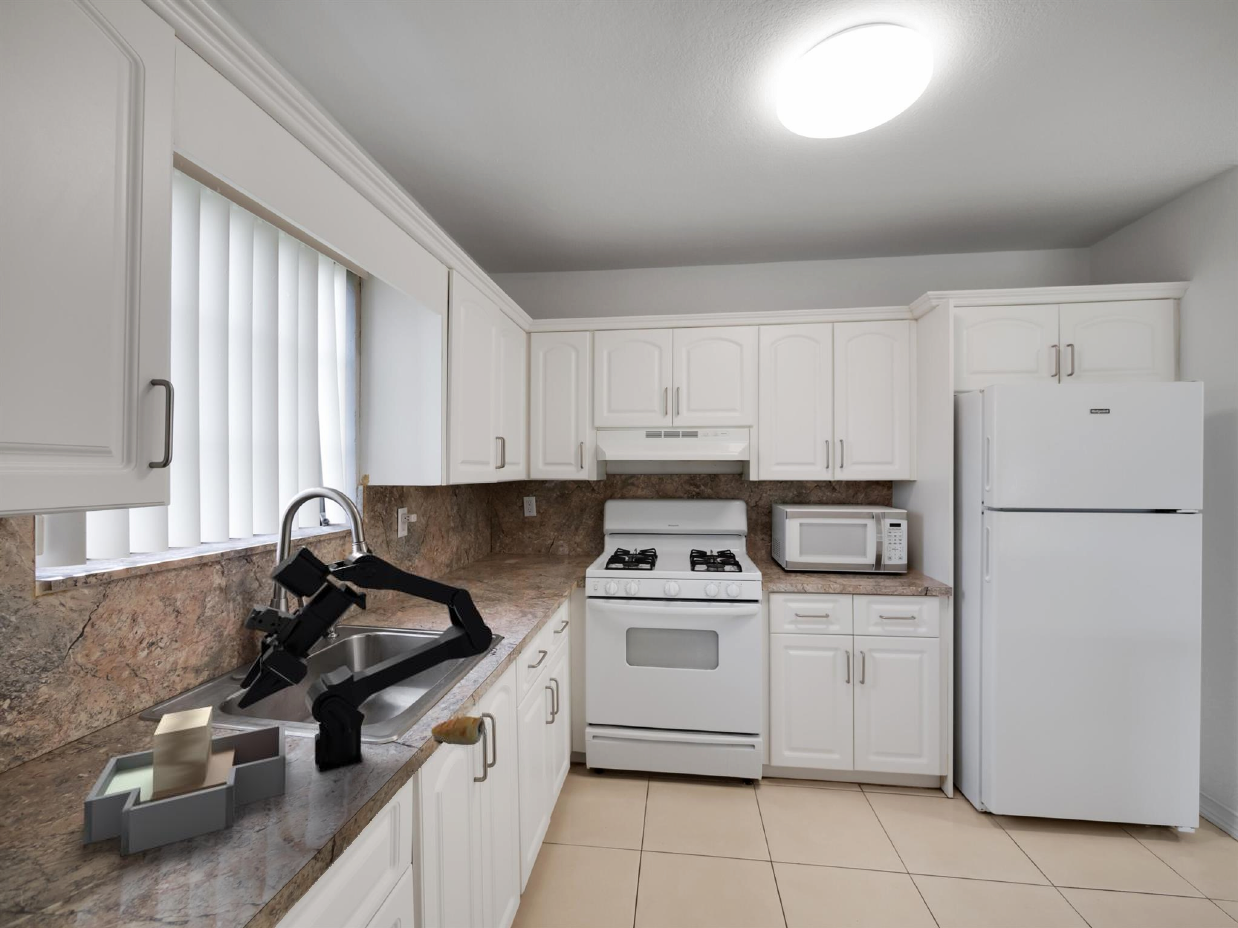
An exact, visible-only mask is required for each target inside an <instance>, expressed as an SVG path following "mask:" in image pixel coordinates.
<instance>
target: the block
mask: <svg viewBox="0 0 1238 928" xmlns="http://www.w3.org/2000/svg"><path fill="white" fill-rule="evenodd" d="M212 730H213V706H207V707H206V706H205V707H201V708H195V709H188V710H184V711H183V710H182V711H178V712H171V713H166V714H163V715H162V717H161V720H160V722H159V724H158V726H157V728H156V730H155V732H154V734H153V746H152V747H153V749H152V750H153V792H158V791H162V790H166V789H171V788H175V787H179V786H184V785H188V784H192V783H197V782H201V781H205V780H206V776H207V772H208V768H209V764H210V760H211V743H212V738H213V735H212V732H213V731H212Z"/></svg>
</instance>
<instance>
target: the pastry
mask: <svg viewBox="0 0 1238 928" xmlns="http://www.w3.org/2000/svg"><path fill="white" fill-rule="evenodd" d="M486 729H487V728H486V723H485V718H484V717H483V716H482V715H480V716H478V717H476V716H467V715H464V716H461V717H460V718H459V717H456V718H455V717H454V718H453V719H448V720H446V721H442V722H440V723H438V724H437V725H436V726H433V728H431V735H432V736H433V739H434V740H435V741H437V742H441V743H445V744H447V745H448V744H449V745H458V746H459V745H460V746H472V745H476V744H477V743H479V742H480V741H481V738H482V736H483V735H484V733H485V732H486Z"/></svg>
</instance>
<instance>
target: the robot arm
mask: <svg viewBox="0 0 1238 928" xmlns="http://www.w3.org/2000/svg"><path fill="white" fill-rule="evenodd" d="M329 576H332V577H333V578H335V579H336V580H337V581H339V582H344V583H341V584H339V585H338V584H337V583H335V582H334V581H333V580H332V579H330V578H328V577H329ZM268 578H269V579H270V581H272V582H274V583H275V584H276V585H278V586H279V587H281V588H282V590H284V591H286V592H288V593H289V594H290V595H292V596H293V597H294V598H296V599H297V600H301V599H302V598H304V597H306V598H307V599H308V598H309V599H310V598H311V597H312V598H311V599H310V600H309V601H308V602H307V603H305V605H304V606H303V607H300V606H299V607H296V608H295V609H294V610H293V611H292V612H288V611H285V610H281V609H279V608H274V607H270V606H266V605H263V604H258V603H255V604H253V606H252V608H251V610H250V611H249V614H248V616H247V618H246V620H245V622H244V626H243V627H244V629H246V630H249V631H252V632H253V631H258V632H263V636H262V637H261V638H260V639H261V640H260V653H259V655H258V656H257V658H256V659H255V661H254V662H253V664H252V666H251V667H250V669H249V670H248V671H247V674H246V675H245V676H244V678H243V679H242V681H241V683H240V684H239V687H240V688H241V689H243V690H246V691H245V692H244V694H243V695H242V697H241V698H240V700H239V701H238V703H237V704H236V706H237V707H238V708H239V709H240V710H241V709H242V710H244V709H246V708H248V707H250V706H252V705H254V704H256V703H258V702H261V701H262V700H263V699H266V698H268V697H270V696H272V695H274V694H276V693H278V692H280V691H282V690H284V689H286V688H289V687H293V686H294V685H296V686H297V685H299V684H300V683H301V682H302V681H303V679H305V678H306V676H307V675H308V662H307V659H308V658H309V657H310V656H311V653H310V651H312V649H313V648H314V647H315V646H316V645H317V644H318V643H319V642H320V641H321V640H322V639H323V638H324V639H327V638H328V637H329V635H331V632H330V630H331V629H332V628H333V627H334V626H335V625H336V624H337V623H338V622H339V621H340V620H341V619H342V618H343V616H344V615H345V614H347V612H348V611H350V609H351V608H352V607H353V606H356V607H358V608H359V609H360V610H361V611H366V610H367V608H368V607H367V596H368V594H367V593H366V592H365V591H360V592H358V591H356V590H354V589H353V588H352V587H350V585H348V584H347V583H345V582H349V583H351V584H352V585H354V586H356V587H358V588H361V589H366V590H367V589H368V590H377V591H378V590H379V591H395V592H401V593H403V594H408V595H409V596H414V597H417V598H422V599H424V600H427V601H431V602H433V603H434V602H435V603H438V604H442V605H444V606H446V607H447V613H448V619H449V621H450V623H451V625H450V626H449V627H447V628H446V629H445V630H444V631H443V632H442V633H441V634H440V635H439V636H438V637H437V638H435V639H433V640H431V641H428V642H426V643H423V644H421V645H418V646H416V647H413V648H411V649H410V650H407V651H405V652H403V653H400V654H398V655H395V656H393V657H390V658H389V659H388V658H387V659H386V660H384V661H381V662H379V663H376V664H374V665H372V666H370V667H367V668H364V669H363V670H360V671H351V670H350V669H349V668H348V666H347V665H343V666H340V667H337V668H336V669H335V670H333V671H332V672H328V673H321V674H319V676H320V678H319V679H317V680H315V681H313V682H312V683H311V684H310V685H309V687H308V689H307V690H306V693H305V696H304V699H305V705H306V707H307V708H308V711H309V712H310V714H311V716H312V718H313V720H314V721H316V722H317V723H318V733H316V734H314V751H313V752H314V757H313V758H314V765H315V766H317V767H318V773H325V772H329V771H332V770H333V771H334V770H337V769H341V768H345V767H350V766H354V765H358V764H361V763H363V760H364V758H363V754H362V725H363V724H364V723H363V722H364V720H365V716H366V715H365V713H364V712H363V711H362V710H361V709H360V706H362V705H363V703H365V702H366V701H367V700H368V699H369V698H370V697H372V696H373V695H376V694H378V693H379V692H382V691H384V690H386V689H388V688H391V687H392V686H395V685H397V684H399V683H401V682H403V681H405V680H408V679H410V678H412V677H414V676H417V675H419V674H421V673H423V672H425V671H427V670H429V669H432V668H434V667H436V666H439V665H441V664H443V663H445V662H447V661H450V660H451V661H452V660H461V659H468V658H472V657H476V656H478V655H482V654H484V653H486V652H487V651H488V650H489V649H490V646H491V644H492V642H493V638H494V637H493V632H492V629H491V628H490V626H488V625H486V623H485V621H484V618H483V616H482V614H481V613H480V612H479V610H478V608H477V606H476V605H475V603H474V601H473V599H472V597H471V593H470V592H469V591H468V590H467V589H465V588H463V587H461V586H458V585H450V584H448V583H445V582H441V581H437V580H434V579H431V578H428V577H425V576H421V575H418V574H415V573H413V572H409V571H405V570H403V569H401V568H399V567H397V566H396V565H394V564H392V563H390V562H388V561H387V560H385V559H382V558H381V557H379V556H377V555H374V554H372V553H369V552H367V551H361V550H358V551H355V552H353V553H351V554H349V555H348V556H347V557H346V558H345V559H343V560H338V561H334V562H330V563H325V562H324V561H322V560H320V559H319V558H318V557H317V556H315V555H314V553H313V552H312V551H311V550H310V549H308V548H307V547H306V546H303V545H301V547H300V548H299V549H298V550H296V551H294V552H292V553H291V554H290V555H289V556H288V557H286V558H284V559H283V560H281V561H280V562H279V563H278V564H277V565H276V567H275V568H274V569H273V570H272V571H271V573H270V575H269V576H268Z"/></svg>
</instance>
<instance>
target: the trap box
mask: <svg viewBox="0 0 1238 928" xmlns="http://www.w3.org/2000/svg"><path fill="white" fill-rule="evenodd" d="M285 794H286V724H285V722H284V723H279V724H276V725H270V726H269V725H268V726H264V727H260V728H255V729H249V730H244V731H239V732H234V733H230V734H224V735H219V736H214V737H213V736H212V743H211V760H210V764H209V768H208V772H207V776H206V780H205V781H201V782H197V783H192V784H188V785H184V786H179V787H175V788H171V789H166V790H162V791H158V792H153V749H148V750H144V751H138V752H134V753H128V754H124V755H118V756H114V757H111V758H110V759H109V760H108V763H107V765H106V766H105V767H104V770H103V771H102V772H101V774H100V776H99V778H98V779H97V780H96V783H95V784H94V786H93V787H92V788H91V790H90V792H89V794H88V796H87V797H86V798H85V801H84V802H83V803H84V805H83V807H84V808H83V846H85V845H89V844H92V843H97V842H100V841H101V842H102V841H105V840H108V839H112V838H117V837H120V857H124V856H127V855H132V854H134V853H135V854H136V853H139V852H143V851H146V850H150V849H153V848H157V847H161V846H165V845H169V844H172V843H175V842H180V841H183V840H187V839H191V838H195V837H198V836H201V835H206V834H209V833H213V832H217V831H221V830H224V829H228V828H231V827H233V824H234V818H235V811H236V807H237V806H241V805H242V806H243V805H246V804H250V803H253V802H257V801H261V800H266V799H270V798H274V797H277V796H281V795H285Z"/></svg>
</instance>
